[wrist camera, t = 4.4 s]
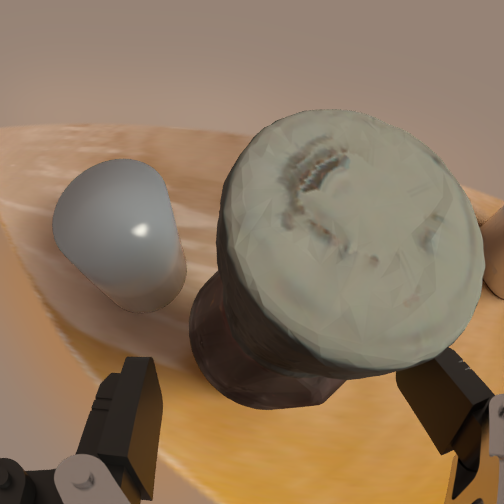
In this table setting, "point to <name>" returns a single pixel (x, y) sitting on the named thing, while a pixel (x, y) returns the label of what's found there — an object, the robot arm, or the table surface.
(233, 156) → the table surface
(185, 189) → the table surface
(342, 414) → the table surface
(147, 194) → the grey rounded cylinder
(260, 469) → the table surface
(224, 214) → the sauce bottle
